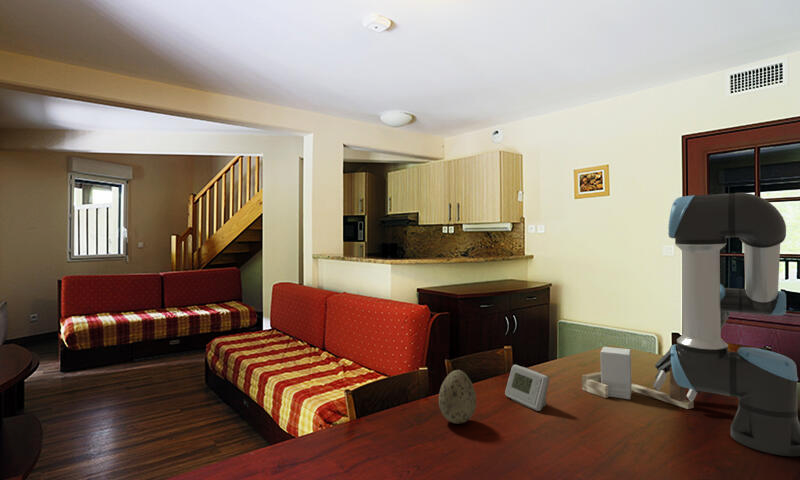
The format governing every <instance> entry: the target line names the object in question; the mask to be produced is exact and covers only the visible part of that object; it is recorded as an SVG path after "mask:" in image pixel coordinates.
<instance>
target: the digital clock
mask: <svg viewBox="0 0 800 480" xmlns="http://www.w3.org/2000/svg"><path fill="white" fill-rule="evenodd" d="M549 383H550V378H549V377H548V375H546V374H542V373H541V372H539V371H536V370H533V369H530V368H528V367H524V366H520V365H518V364H513V365H512V366H511V370H510V372H509V376H508V379H507V384H506V387H505V391H504V394H505V396H506V397H507V398H509V399H511V400H512V401H513V402H515V403H518V404H519V405H523V407H526V408H528V409H530V410H534V411H536V412H541V410H542V409H543V407H546V406H547V391H548V387H549Z"/></svg>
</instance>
